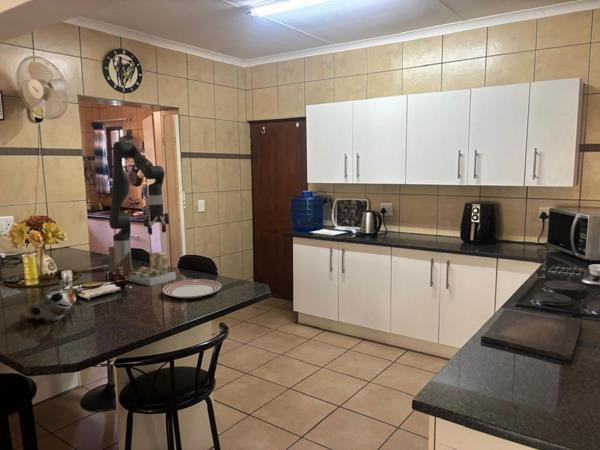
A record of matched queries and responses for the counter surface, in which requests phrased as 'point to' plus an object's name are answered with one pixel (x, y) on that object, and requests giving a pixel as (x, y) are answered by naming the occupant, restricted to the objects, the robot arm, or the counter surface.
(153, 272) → the offcut stack
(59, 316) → the lucky cat figurine
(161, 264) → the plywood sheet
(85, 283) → the counter surface
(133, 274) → the rack
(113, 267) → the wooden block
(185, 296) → the dinner plate
